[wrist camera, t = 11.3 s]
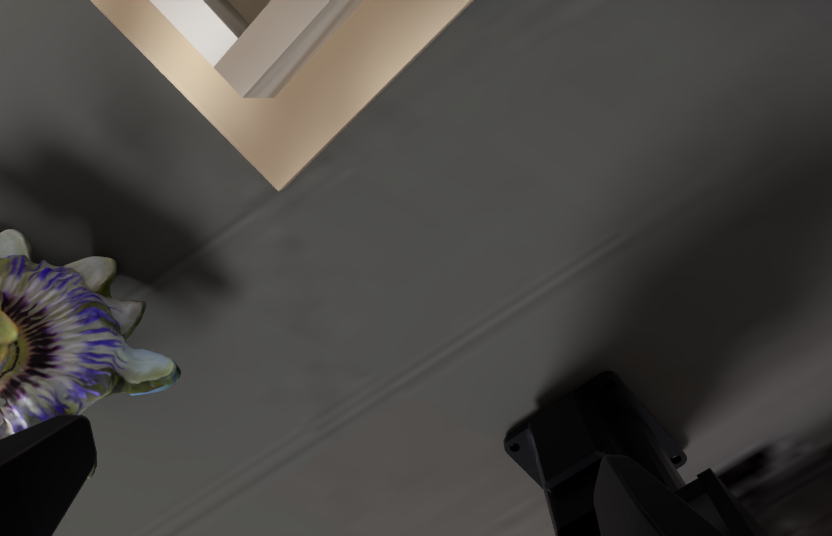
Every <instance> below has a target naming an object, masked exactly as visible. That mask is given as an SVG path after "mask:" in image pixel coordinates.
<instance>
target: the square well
mask: <svg viewBox="0 0 832 536" xmlns="http://www.w3.org/2000/svg"><path fill="white" fill-rule="evenodd" d="M90 1H91V2H92V3H93V4H94V5H95V6H96V7H97V8H98V9H99V10H100V11H101V12H102V13H103V14H104V15H105V16H106V17H107V18H108V19H109V20H110V21H111V22H112V23H113V24H114V25H115V26H116V27H117V28H118V29H119V30H120V31H121V32H122V33H123V34H124V35H125V36H126V37H127V38H128V39H129V40H130V41H131V42H132V43H133V44H134V45H135V46H136V47H137V48H138V49H139V50H140V51H141V52H142V53H143V54H144V55H145V56H146V57H147V58H148V59H149V60H150V61H151V62H152V63H153V64H154V66H155V67H156V68H157V69H158V70H159V71H160V72H161V73H162V74H163V75H164V76H165V77H166V78H167V79H168V80H169V81H170V82H171V83H172V84H173V85H174V86H175V87H176V88H177V89H178V90H179V91H180V92H181V93H182V94H183V95H184V96H185V97H186V98H187V99H188V100H189V101H190V102H191V103H192V104H193V105H194V106H195V107H196V108H197V109H198V110H199V111H200V112H201V113H202V114H203V115H204V116H205V117H206V118H207V119H208V120H209V121H210V122H211V123H212V124H213V125H214V126H215V127H216V128H217V129H218V130H219V131H220V132H221V134H222V135H223V136H224V137H225V138H226V139H227V140H228V141H229V142H230V143H231V144H232V145H233V146H234V147H235V148H236V149H237V150H238V151H239V152H240V153H241V154H242V155H243V156H244V157H245V158H246V159H247V160H248V161H249V162H250V163H251V164H252V165H253V166H254V167H255V168H256V169H257V170H258V171H259V172H260V173H261V174H262V175H263V176H264V177H265V178H266V179H267V180H268V181H269V182H270V183H271V184H272V185H273V186H274V187H275V188H276V189H277V190H278V191H280V190H282V189H284V188H285V187H287V186H288V185H289V184H290V183H291V182H292V181H293V180H294V179H295V178H296V177H297V176H298V175H299V174H300V173H301V172H302V171H303V170H304V169H305V168H306V167H307V166H308V165H309V164H310V163H311V162H312V161H313V160H314V159H315V158H316V157H317V156H318V155H319V154H320V153H321V152H322V151H323V150H324V149H325V148H326V147H327V146H328V145H329V144H330V143H331V142H332V141H333V140H334V139H335V138H336V137H337V136H338V135H339V134H340V133H341V132H342V131H343V130H344V129H345V128H346V127H347V126H348V125H349V124H350V123H351V122H352V121H353V120H354V119H355V118H356V117H357V116H358V115H359V114H360V113H361V112H362V111H363V110H364V109H365V108H366V107H367V106H368V105H369V104H370V103H371V102H372V101H373V100H374V99H375V98H376V97H377V96H378V95H379V94H380V93H381V92H382V91H383V90H384V89H385V88H386V87H387V86H388V85H389V84H390V83H392V82H393V81H394V80H395V79H396V78H397V77H398V76H399V75H400V74H401V73H402V72H403V71H404V70H405V69H406V68H407V67H408V66H409V65H410V64H411V63H412V62H413V61H414V60H415V59H416V58H417V57H418V56H419V55H420V54H421V53H422V52H423V51H424V50H425V49H426V48H427V47H428V46H429V45H430V44H431V43H432V42H433V41H434V40H435V39H436V38H437V37H438V36H439V35H440V34H441V33H442V32H443V31H444V30H445V29H446V28H447V27H448V26H449V25H450V24H451V23H452V22H453V21H454V20H455V19H456V18H457V17H458V16H459V15H460V14H461V13H462V12H463V11H464V10H465V9H466V8H467V7H468V6H469V5H470V4H471V3H472V2H473V1H474V0H90Z"/></svg>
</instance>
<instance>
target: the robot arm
mask: <svg viewBox="0 0 832 536" xmlns="http://www.w3.org/2000/svg"><path fill="white" fill-rule="evenodd" d="M610 380H611V381H613V382H612V383H611V384H609V385H605V383H606V382H607V381H610ZM514 443H517V444H518V445H516V446H511V444H514ZM504 448H505V451H506V452H507V454H508V455H509V456H510V457H511V458H512V459H513V460H514V461H515V462H516V463H517V464H518V465H520V466H521V467H522V468H523V469H524V470H525V471H526V472H527V473H528V474H529V475H530V476H531V477H532V478H533V479H534V480H535V481H536V482H537V483H538V484H539V485H540V486H541V487H542V488H543V489H544V493H545V497H546V501H547V504H548V508H549V512H550V516H551V520H552V524H553V527H554V531H555V535H556V536H768V534H767V533H766V532H765V531H764V530H763V529H762V528H761V526H760V525H759V524H758V523H757V522H756V521H755V519H754V518H753V517H752V516H751V515H750V514H749V512H748V511H747V510H746V509H745V508H744V507H743V506H742V504H741V503H740V502H739V501H738V500H737V499H736V497H735V496H734V495H733V494H732V493H731V492H730V490H729V489H728V488H727V487H726V486H725V485H724V484H723V482H722V481H721V480H720V479H719V478H718V477H717V475H716V474H715V473H714V472H713V471H712V470H711V469H710V468H709V469H707V470H705V471H703V472H702V473H700V474H698V475H697V477H698V479H696V480H694V481H692V482H691V483H689V484H687V485H686V484H685V482H684V481H683V479H682V477H681V476H680V474H679V473H678V471H677V470H676V469H678V468H679V467H681V466H683V465H684V464H685V463H686V461H687V457H686V455H685V453H684V452H683V450H682V449H681V448H680V446H679V445H678V444H677V443H676V442H675V441H674V440H673V438H672V437H671V436H670V435H669V434H668V433H667V432H666V430H665V429H664V428H663V427H662V426H661V425H660V424H659V422H658V421H657V420H656V419H655V418H654V417H653V416H652V414H651V413H650V412H649V411H648V410H647V409H646V408H645V406H644V405H643V404H642V403H641V402H640V401H639V399H638V398H637V397H636V396H635V395H634V394H633V393H632V391H631V390H630V389H629V388H628V387H627V386H626V385H625V383H624V382H623V381H622V380H621V379H620V378H619V377H618V375H617V374H615V373H614V372H611V371H605V372H603V373H601V374H599V375H598V376H596V377H595V378H593V379H592V380H590V381H589V382H587V383H586V384H584V385H583V386H581V387H580V388H578V389H577V390H575V391H574V392H572V393H570V394H568V395H566V396H565V397H563V398H562V399H560V400H559V401H557V402H556V403H554V404H553V405H551V406H550V407H548V408H547V409H545V410H544V411H542V412H541V413H539V414H538V415H536V416H535V417H533V418H532V419H530V420H529V422H527V423H526V424H524V425H523V426H521V427H520V428H518V429H517V430H515V431H514V432H512V433H511V434H509V435H508V436H506V437H505V439H504ZM676 455H677V456H676ZM673 456H676V457H674V458H672V457H673ZM96 458H97V451H96V447H95V442H94V438H93V433H92V429H91V424H90V421H89V420H88V418H87V417H85V416H82V415H70V414H62V415H58V416H55V417H53V418H50V419H48V420H45V421H43V422H41V423H38V424H36V425H34V426H31V427H29V428H26V429H24V430H22V431H19V432H17V433H14V434H12V435H10V436H7V437H5V438H2V439H0V536H52V535H53V533H54V531H55V530H56V528H57V526H58V525H59V523H60V522H61V520H62V518H63V517H64V515H65V513H66V512H67V510H68V508H69V507H70V505H71V504H72V502H73V500H74V499H75V497H76V495H77V494H78V492H79V490H80V489H81V487H82V486H83V484H84V482H85V481H86V479H87V477H88V476H89V474H90V472H91V471H92V469H93V467H94V465H95V462H96Z"/></svg>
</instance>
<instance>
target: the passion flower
mask: <svg viewBox="0 0 832 536" xmlns="http://www.w3.org/2000/svg"><path fill="white" fill-rule="evenodd" d="M31 253H32V247H31V245H30V243H29V241H28V240H27V239H26V238H25V236H24V235H23V234H22V233H21V232H19V231H17V230H14V229H8V230H4V231H3V232H1V233H0V439H2V438H5V437H7V436H10V435H12V434H14V433H17V432H19V431H22V430H24V429H26V428H29V427H31V426H34V425H36V424H38V423H41V422H43V421H45V420H48V419H50V418H53V417H55V416H58V415H62V414H70V415H81V414H82V412H83V411H84V410H86V409H87V408H88V407H90V406H91V405H92V404H93V403H95V402H96V401H97V400H99V399H101V398H104V397H107V396H110V395H113V394H117V393H124V392H125V393H127V394H130V395H132V396H134V395H141V394H148V393H154V392H159V391H162V390H166V389H168V388H169V387H170V386H172V385H173V384H174V383H175V382H176V381H177V380H178V379H179V377H180V375H181V370H180V369H179V367H178V366H177V364H176V363H175V361H173V360H172V359H171V358H169V357H167V356H164V355H162V354H159V353H155V352H152V351H149V350H145V349H133V348H131V347H130V346H128V345H127V343H126V342H125V340H126V339H127V338H128V337H129V336H130V335H131V334H132V333H133V331H134V329H135V328H136V326H137V325H138V324H139V322H140V320H141V318H142V316H143V313H144V311H145V308H146V303H145V302H139V301H134V300H125V301H121V300H117V299H114V298H112V297H111V294H110V284H111V283H112V282H113V280H114V278H115V276H116V269H117V264H116V261H115V260H114V259H112V258H108V257H100V256H92V257H87V258H84V259H81V260H78V261H75V262H72V263H70V264H67V265H64V266H60V267H58V266H53V265H50V264H49V263H47V262H46V261H45V260H41V262H40V263H39V264H36V263H33V261H32V258H31ZM96 467H97V458H96V462H95V465H94V467H93V469H92V471H91V472H90V474H89V476H88V477H87V478H91V477H92V476H93V474H94V472H95V469H96Z"/></svg>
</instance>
